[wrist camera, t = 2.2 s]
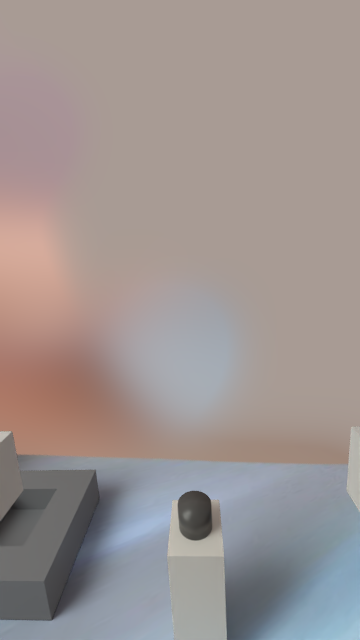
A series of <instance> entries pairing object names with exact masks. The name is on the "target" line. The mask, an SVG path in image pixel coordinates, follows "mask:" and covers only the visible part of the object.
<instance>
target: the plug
mask: <svg viewBox="0 0 360 640" xmlns="http://www.w3.org/2000/svg"><path fill="white" fill-rule="evenodd" d="M167 559H168V571H169V583H170V595H171V607H172V618H173V630H174V640H227V629H226V600H225V571H224V551H223V540H222V528H221V517H220V506H219V500H210V498H209V497H208V496H207V495H206V494H205V493H203V492H199V491H190V492H187V493H185V494H183V495H182V496H181V497H180V498H179V500H173V502H172V513H171V523H170V533H169V543H168V554H167Z"/></svg>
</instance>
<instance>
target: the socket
mask: <svg viewBox="0 0 360 640" xmlns="http://www.w3.org/2000/svg"><path fill="white" fill-rule="evenodd" d="M20 475H21V480H22V485H23V491H22V493H21V494H20V495H19V497H18V498H17V499H16V501H15V502H14V504H13V505H12V506H11V508H10V509H9V510H8V512H7V513H6V514H5V516H4V517H3V518H2V520H1V521H0V619H9V620H52V618H53V615H54V613H55V610H56V608H57V605H58V603H59V600H60V598H61V595H62V593H63V590H64V587H65V585H66V582H67V580H68V577H69V575H70V572H71V570H72V567H73V565H74V562H75V560H76V557H77V554H78V552H79V549H80V547H81V544H82V542H83V539H84V537H85V534H86V532H87V529H88V527H89V524H90V522H91V519H92V516H93V514H94V511H95V509H96V506H97V504H98V501H99V491H98V484H97V477H96V470H49V471H20Z"/></svg>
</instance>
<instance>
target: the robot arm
mask: <svg viewBox="0 0 360 640" xmlns="http://www.w3.org/2000/svg"><path fill="white" fill-rule="evenodd" d="M22 491H23V485H22V480H21V475H20V470H19V464H18V459H17V454H16V449H15V444H14V438H13V433H12V431H6V432H5V431H4V432H3V431H1V432H0V521H1V520H2V518H3V517H4V516H5V514H6V513H7V512H8V510H9V509H10V508H11V506H12V505H13V504H14V502H15V501H16V499H17V498H18V497H19V495H20V494H21V493H22ZM347 492H348V494H349V495H350V497H351V499H352V500H353V502H354V503H355V505H356V507H357V508H358V510H359V511H360V427H351V437H350V450H349V464H348V478H347Z"/></svg>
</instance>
